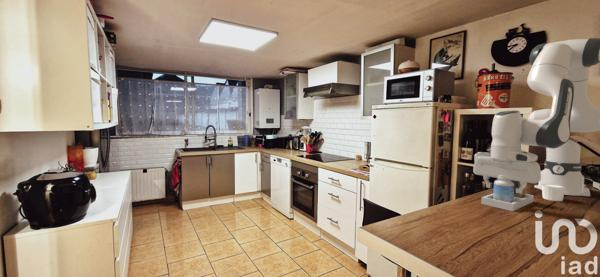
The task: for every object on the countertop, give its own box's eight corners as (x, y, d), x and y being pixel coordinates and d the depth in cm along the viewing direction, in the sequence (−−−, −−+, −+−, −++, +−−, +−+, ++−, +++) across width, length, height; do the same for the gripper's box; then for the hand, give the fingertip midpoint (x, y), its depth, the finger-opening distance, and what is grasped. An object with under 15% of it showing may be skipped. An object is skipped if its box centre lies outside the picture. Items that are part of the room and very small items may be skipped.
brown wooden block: (506, 197, 107) (507, 173, 107) (524, 201, 102) (525, 176, 102) (500, 199, 104) (501, 175, 103) (518, 203, 99) (520, 178, 98)
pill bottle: (515, 207, 94) (516, 177, 94) (494, 205, 97) (496, 175, 96) (511, 203, 100) (512, 174, 99) (491, 200, 102) (492, 172, 102)
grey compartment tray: (502, 198, 110) (503, 189, 110) (533, 205, 102) (533, 195, 102) (481, 207, 100) (481, 197, 99) (512, 215, 91) (513, 204, 91)
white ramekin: (569, 205, 102) (570, 187, 101) (551, 205, 102) (552, 187, 102) (552, 200, 109) (553, 183, 108) (536, 200, 109) (537, 183, 108)
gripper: (470, 151, 104) (469, 185, 105) (537, 157, 87) (535, 198, 88) (478, 150, 107) (476, 183, 108) (543, 156, 90) (541, 195, 91)
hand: (503, 190), depth 98 cm, fingers open, 8 cm apart
